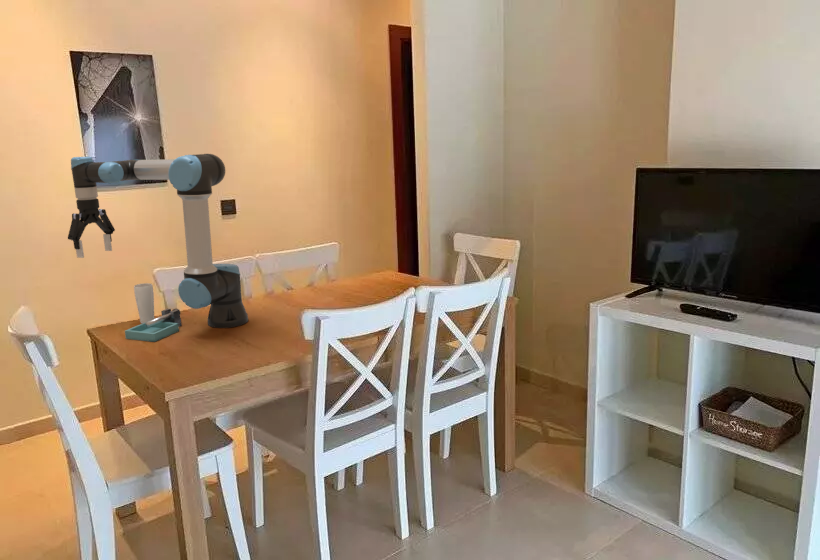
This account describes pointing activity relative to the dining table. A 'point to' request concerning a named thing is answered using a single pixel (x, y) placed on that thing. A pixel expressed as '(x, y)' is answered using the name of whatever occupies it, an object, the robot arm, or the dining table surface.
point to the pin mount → (172, 316)
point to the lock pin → (158, 319)
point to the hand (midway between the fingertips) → (95, 254)
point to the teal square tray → (152, 331)
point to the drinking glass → (145, 301)
